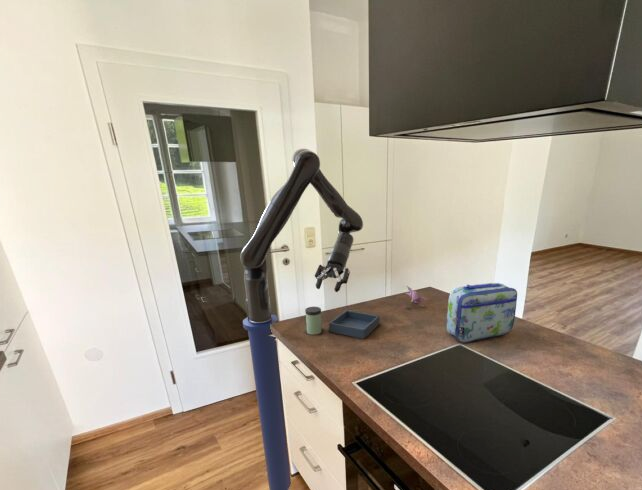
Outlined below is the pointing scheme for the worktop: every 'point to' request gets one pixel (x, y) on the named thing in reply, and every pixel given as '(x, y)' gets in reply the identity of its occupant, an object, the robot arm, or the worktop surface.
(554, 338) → the worktop surface
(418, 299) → the lily
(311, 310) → the food flask
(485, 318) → the lunch box
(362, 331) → the blue square tray
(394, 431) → the worktop surface
